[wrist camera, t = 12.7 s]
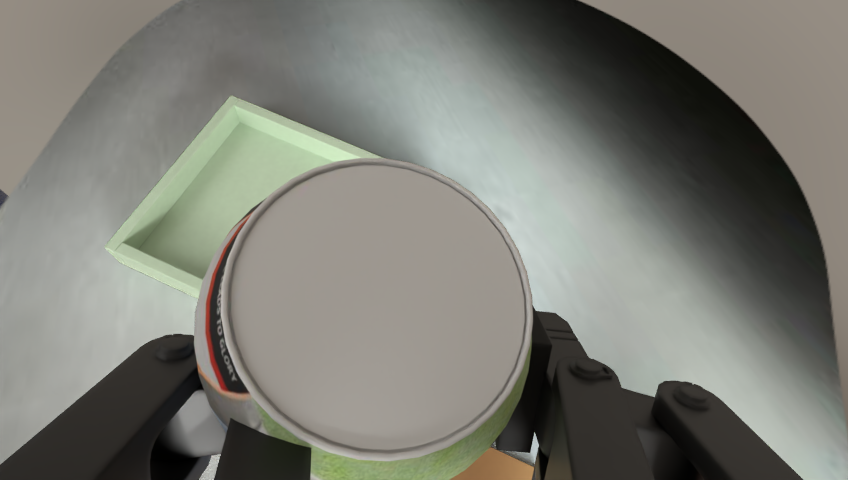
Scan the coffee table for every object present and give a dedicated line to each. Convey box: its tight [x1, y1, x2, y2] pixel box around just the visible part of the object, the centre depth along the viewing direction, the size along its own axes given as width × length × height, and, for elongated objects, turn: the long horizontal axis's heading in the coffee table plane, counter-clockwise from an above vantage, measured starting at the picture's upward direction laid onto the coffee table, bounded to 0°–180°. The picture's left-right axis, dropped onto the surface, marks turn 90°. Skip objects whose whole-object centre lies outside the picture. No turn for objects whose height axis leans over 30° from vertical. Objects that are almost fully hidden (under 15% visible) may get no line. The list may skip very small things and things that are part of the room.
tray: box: [105, 95, 383, 299], centre depth 37 cm, size 18×15×2 cm
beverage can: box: [194, 158, 533, 480], centre depth 13 cm, size 6×7×12 cm
